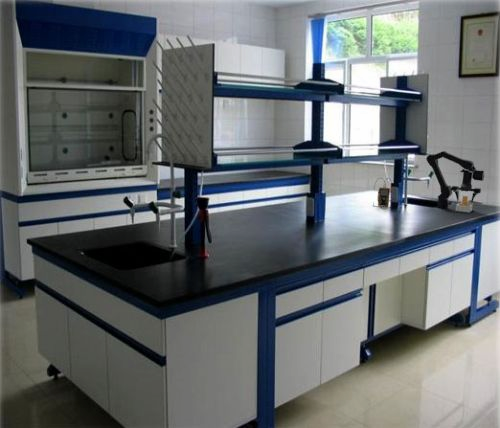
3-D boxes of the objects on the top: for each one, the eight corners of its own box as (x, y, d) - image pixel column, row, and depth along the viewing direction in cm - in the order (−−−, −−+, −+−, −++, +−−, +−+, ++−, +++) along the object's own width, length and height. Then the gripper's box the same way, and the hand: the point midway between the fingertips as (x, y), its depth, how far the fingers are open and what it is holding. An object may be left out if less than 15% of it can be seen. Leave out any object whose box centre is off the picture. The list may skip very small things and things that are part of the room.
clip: (480, 206, 378) (481, 202, 377) (467, 203, 388) (467, 200, 387) (482, 206, 379) (482, 202, 378) (469, 203, 388) (469, 199, 388)
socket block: (455, 210, 383) (456, 205, 383) (458, 208, 392) (458, 202, 391) (469, 212, 379) (470, 206, 378) (471, 210, 387) (472, 204, 387)
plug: (458, 208, 384) (459, 196, 382) (460, 207, 389) (461, 195, 387) (467, 210, 381) (469, 197, 379) (469, 208, 386) (470, 196, 384)
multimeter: (371, 207, 387) (373, 178, 383) (372, 205, 396) (374, 177, 392) (393, 209, 383) (395, 180, 379) (394, 206, 392) (396, 178, 388)
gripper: (450, 179, 379) (448, 201, 382) (479, 181, 370) (477, 205, 373) (453, 177, 388) (451, 199, 391) (482, 180, 379) (479, 202, 382)
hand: (464, 201), depth 384 cm, fingers open, 9 cm apart
